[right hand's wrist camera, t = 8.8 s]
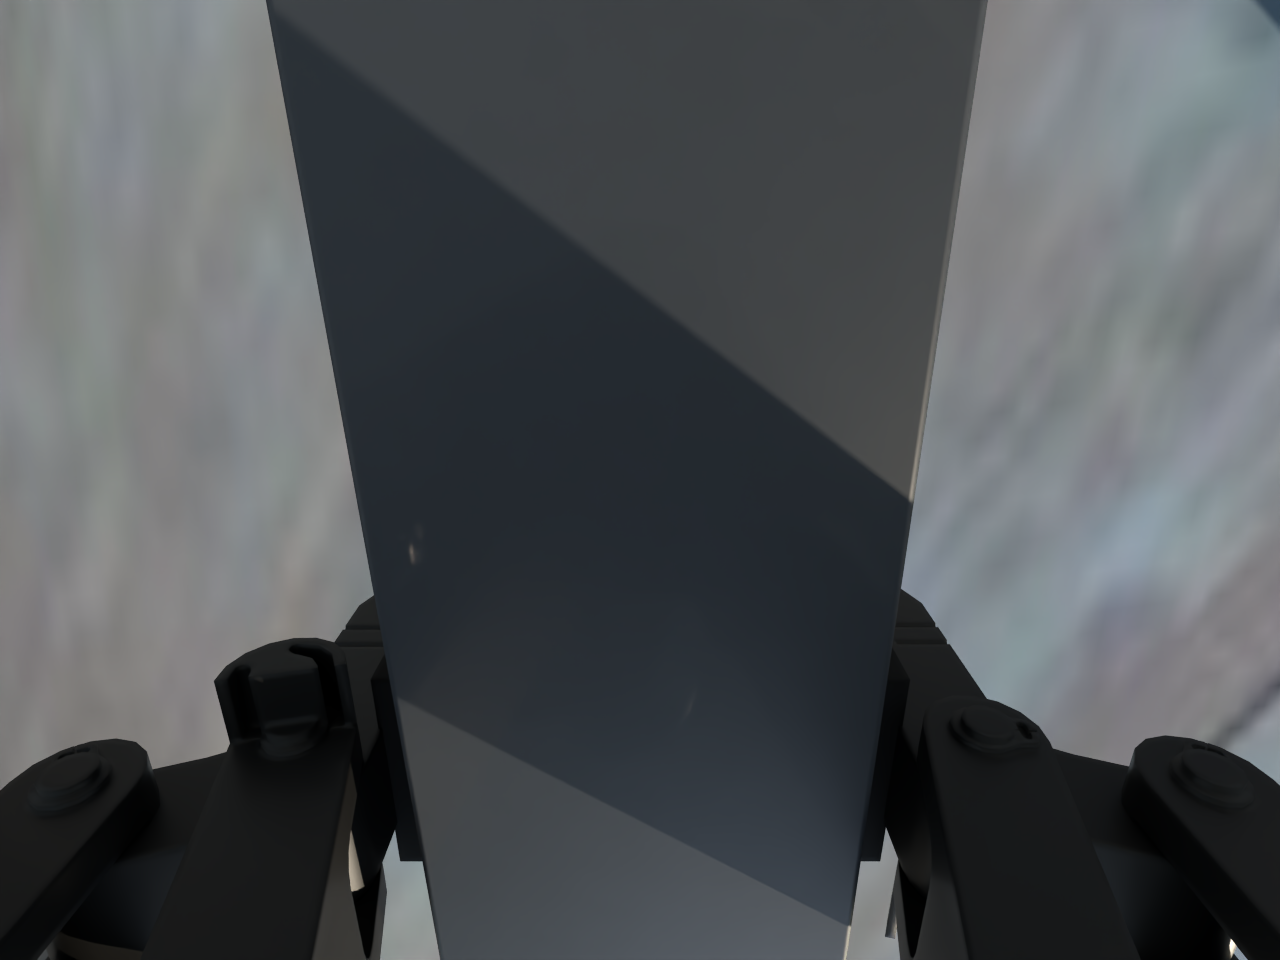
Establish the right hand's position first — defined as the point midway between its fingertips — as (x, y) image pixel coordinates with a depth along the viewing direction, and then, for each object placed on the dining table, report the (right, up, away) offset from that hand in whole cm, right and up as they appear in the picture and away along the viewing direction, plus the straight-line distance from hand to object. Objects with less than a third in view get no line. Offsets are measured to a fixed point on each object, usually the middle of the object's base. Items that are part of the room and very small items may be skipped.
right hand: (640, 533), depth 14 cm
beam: (0, +12, -5) cm, 13 cm away
